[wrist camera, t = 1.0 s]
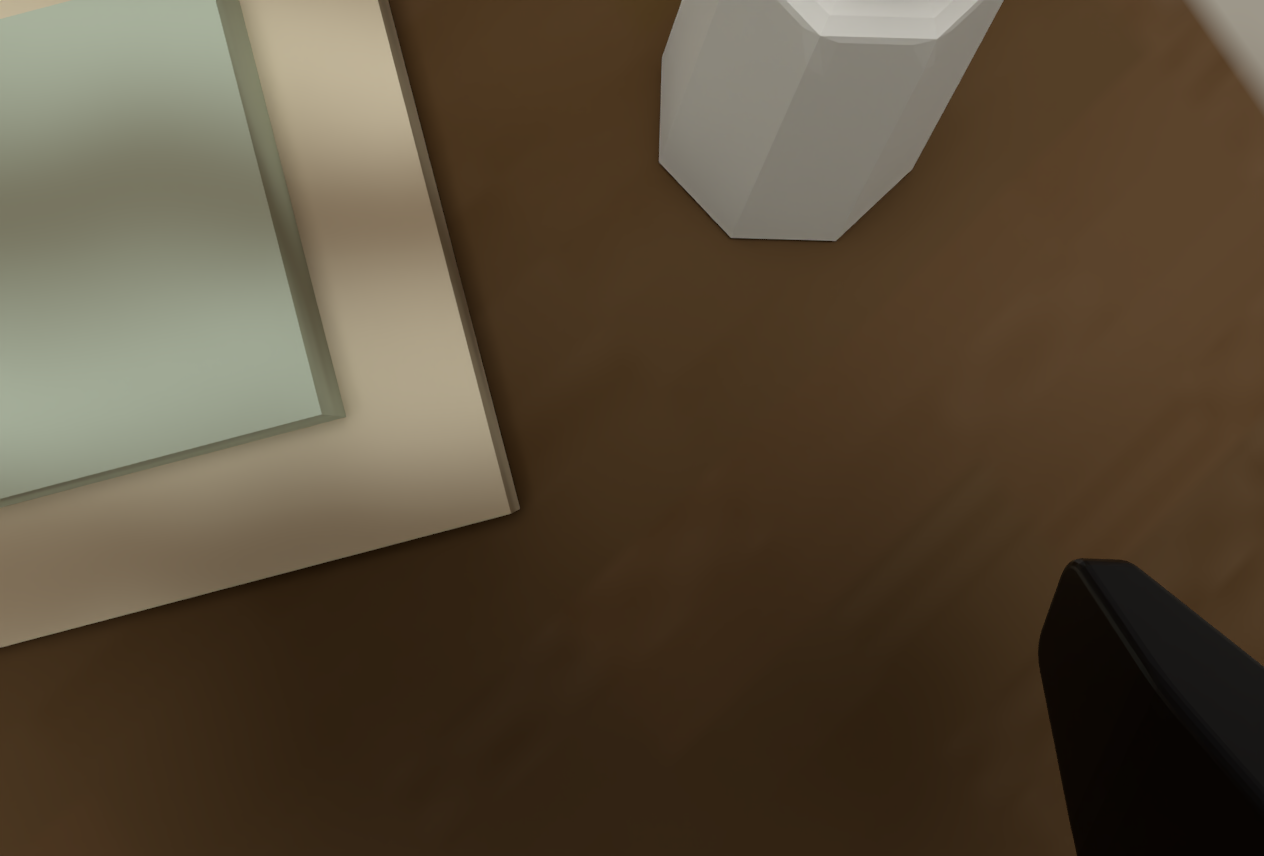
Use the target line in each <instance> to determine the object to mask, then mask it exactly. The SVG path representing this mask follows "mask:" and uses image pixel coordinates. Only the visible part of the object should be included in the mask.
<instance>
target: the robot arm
mask: <svg viewBox="0 0 1264 856" xmlns="http://www.w3.org/2000/svg"><path fill="white" fill-rule="evenodd" d="M1038 658H1039V667H1040V673H1041V678H1042V683H1043V688H1044V693H1045V698H1046V703H1047V708H1048V714H1049V719H1050V724H1051V729H1052V734H1053V739H1054V744H1055V749H1056V754H1057V759H1058V764H1059V770H1060V775H1061V780H1062V785H1063V790H1064V795H1065V800H1066V805H1067V810H1068V815H1069V820H1070V825H1071V830H1072V834H1073V839H1074V843H1075V848H1076V852H1077V856H1264V667H1263V666H1262V665H1261V664H1260V663H1258V662H1257V661H1256V660H1255V659H1253V658H1252V657H1251V656H1249V655H1248V654H1247V653H1246V652H1244V651H1243V650H1242V649H1241V648H1239V647H1238V646H1237V645H1236V644H1234V643H1233V642H1232V641H1231V640H1229V639H1228V638H1227V637H1225V636H1224V635H1223V634H1222V633H1220V632H1219V631H1218V630H1217V629H1215V628H1214V627H1213V626H1212V625H1210V624H1209V623H1208V622H1207V621H1205V620H1204V619H1203V618H1201V617H1200V616H1199V615H1198V614H1196V613H1195V612H1194V611H1193V610H1191V609H1190V608H1189V607H1188V606H1186V605H1185V604H1184V603H1182V602H1181V601H1180V600H1179V599H1177V598H1176V597H1175V596H1174V595H1172V594H1171V593H1170V592H1169V591H1167V590H1166V589H1165V588H1164V587H1162V586H1161V585H1160V584H1158V583H1157V582H1156V581H1155V580H1153V579H1152V578H1151V577H1150V576H1148V575H1147V574H1146V573H1145V572H1143V571H1142V570H1141V569H1140V568H1138V567H1137V566H1135V565H1134V564H1132V563H1130V562H1128V561H1123V560H1114V559H1083V558H1081V559H1076V560H1073V561H1071V562H1070V563H1069V564H1068V565H1067V566H1066V567H1065V569H1064V571H1063V573H1062V575H1061V578H1060V580H1059V583H1058V586H1057V589H1056V592H1055V594H1054V597H1053V600H1052V603H1051V606H1050V609H1049V611H1048V614H1047V617H1046V620H1045V623H1044V625H1043V628H1042V631H1041V635H1040V639H1039V647H1038Z"/></svg>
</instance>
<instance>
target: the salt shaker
mask: <svg viewBox="0 0 1264 856" xmlns="http://www.w3.org/2000/svg"><path fill="white" fill-rule="evenodd" d="M1002 2H1003V0H682V2H681V5H680V8H679V11H678V13H677V16H676V19H675V22H674V25H673V28H672V30H671V33H670V36H669V39H668V42H667V45H666V48H665V50H664V53H663V56H662V72H661V105H660V139H659V163H660V164H661V165H662V166H663V167H664V168H665V169H666V170H667V171H668V172H669V173H670V174H671V175H672V176H673V177H674V178H675V180H676V181H677V182H678V183H679V184H680V185H681V186H682V187H683V188H684V189H685V190H686V191H687V192H688V193H689V194H690V195H691V196H692V197H693V198H694V200H695V201H696V202H697V203H698V204H699V205H700V206H701V207H702V208H703V209H704V210H705V211H706V212H707V213H708V214H709V215H710V216H711V217H712V219H713V220H714V221H715V222H716V223H717V224H718V225H719V226H720V227H721V228H722V229H723V230H724V231H725V232H726V233H727V234H728V235H729V236H730V238H752V239H787V240H822V241H836V240H837V239H839V238H840V237H841V236H842V235H843V234H844V233H845V232H846V231H847V230H848V229H849V228H850V227H851V226H852V225H853V224H854V223H856V222H857V221H858V220H859V219H860V218H861V217H862V216H863V215H864V214H865V213H866V212H867V211H868V210H869V209H870V208H871V207H873V206H874V205H875V204H876V203H877V202H878V201H879V200H880V199H881V198H882V197H883V196H884V195H885V194H886V193H887V192H888V191H890V190H891V189H892V188H893V187H894V186H895V185H896V184H897V183H898V182H899V181H900V180H901V179H902V178H903V177H904V176H905V175H907V174H908V173H909V172H910V171H911V170H912V169H913V167H914V165H915V163H916V161H917V159H918V158H919V156H920V154H921V152H922V150H923V148H924V147H925V145H926V143H927V141H928V139H929V137H930V135H931V134H932V132H933V130H934V128H935V126H936V124H937V123H938V121H939V119H940V117H941V115H942V113H943V111H944V110H945V108H946V106H947V104H948V102H949V100H950V98H951V97H952V95H953V93H954V91H955V89H956V87H957V86H958V84H959V82H960V80H961V78H962V76H963V74H964V73H965V71H966V69H967V67H968V65H969V63H970V61H971V60H972V58H973V56H974V54H975V52H976V50H977V49H978V47H979V45H980V43H981V41H982V39H983V37H984V36H985V34H986V32H987V30H988V28H989V26H990V25H991V23H992V21H993V19H994V17H995V15H996V13H997V12H998V10H999V8H1000V6H1001V4H1002Z"/></svg>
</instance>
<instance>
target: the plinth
mask: <svg viewBox="0 0 1264 856" xmlns="http://www.w3.org/2000/svg"><path fill="white" fill-rule="evenodd" d="M519 509H520V506H519V502H518V498H517V494H516V491H515V487H514V483H513V479H512V475H511V471H510V467H509V464H508V460H507V456H506V452H505V448H504V444H503V441H502V437H501V433H500V429H499V425H498V421H497V417H496V414H495V410H494V406H493V402H492V398H491V394H490V390H489V387H488V383H487V379H486V375H485V371H484V367H483V364H482V360H481V356H480V352H479V348H478V344H477V340H476V337H475V333H474V329H473V325H472V321H471V317H470V313H469V310H468V306H467V302H466V298H465V294H464V290H463V287H462V283H461V279H460V275H459V271H458V267H457V263H456V260H455V256H454V252H453V248H452V244H451V240H450V236H449V233H448V229H447V225H446V221H445V217H444V213H443V210H442V206H441V202H440V198H439V194H438V190H437V186H436V183H435V179H434V175H433V171H432V167H431V163H430V159H429V156H428V152H427V148H426V144H425V140H424V136H423V133H422V129H421V125H420V121H419V117H418V113H417V109H416V106H415V102H414V98H413V94H412V90H411V86H410V82H409V79H408V75H407V71H406V67H405V63H404V59H403V56H402V52H401V48H400V44H399V40H398V36H397V32H396V29H395V25H394V21H393V17H392V13H391V9H390V5H389V2H388V0H0V648H1V647H5V646H8V645H12V644H16V643H20V642H24V641H27V640H31V639H35V638H39V637H43V636H46V635H50V634H54V633H58V632H62V631H66V630H69V629H73V628H77V627H81V626H85V625H88V624H92V623H96V622H100V621H104V620H107V619H111V618H115V617H119V616H123V615H127V614H130V613H134V612H138V611H142V610H146V609H149V608H153V607H157V606H161V605H165V604H169V603H172V602H176V601H180V600H184V599H188V598H191V597H195V596H199V595H203V594H207V593H210V592H214V591H218V590H222V589H226V588H230V587H233V586H237V585H241V584H245V583H249V582H252V581H256V580H260V579H264V578H268V577H272V576H275V575H279V574H283V573H287V572H291V571H294V570H298V569H302V568H306V567H310V566H313V565H317V564H321V563H325V562H329V561H333V560H336V559H340V558H344V557H348V556H352V555H355V554H359V553H363V552H367V551H371V550H374V549H378V548H382V547H386V546H390V545H394V544H397V543H401V542H405V541H409V540H413V539H416V538H420V537H424V536H428V535H432V534H436V533H439V532H443V531H447V530H451V529H455V528H458V527H462V526H466V525H470V524H474V523H477V522H481V521H485V520H489V519H493V518H497V517H500V516H504V515H508V514H511V513H513V512H515V511H517V510H519Z"/></svg>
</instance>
